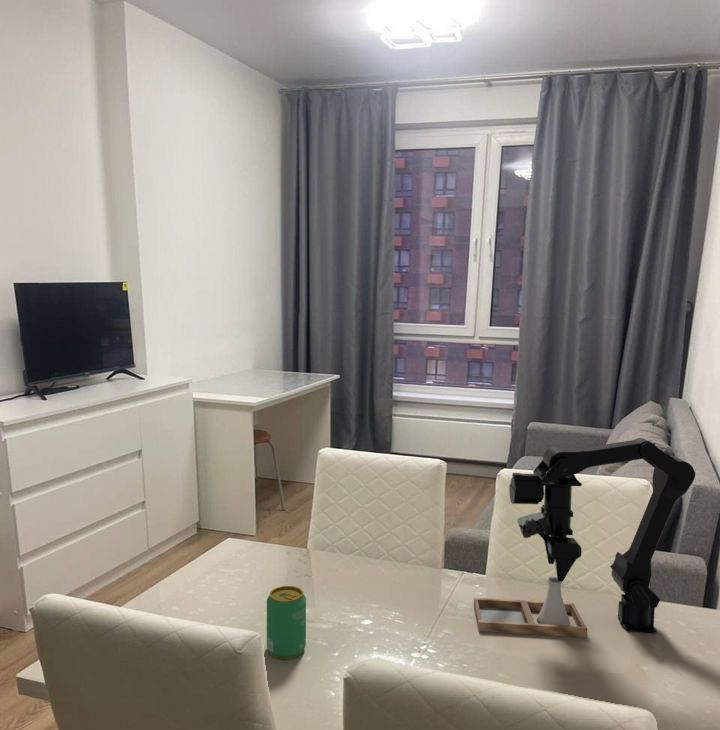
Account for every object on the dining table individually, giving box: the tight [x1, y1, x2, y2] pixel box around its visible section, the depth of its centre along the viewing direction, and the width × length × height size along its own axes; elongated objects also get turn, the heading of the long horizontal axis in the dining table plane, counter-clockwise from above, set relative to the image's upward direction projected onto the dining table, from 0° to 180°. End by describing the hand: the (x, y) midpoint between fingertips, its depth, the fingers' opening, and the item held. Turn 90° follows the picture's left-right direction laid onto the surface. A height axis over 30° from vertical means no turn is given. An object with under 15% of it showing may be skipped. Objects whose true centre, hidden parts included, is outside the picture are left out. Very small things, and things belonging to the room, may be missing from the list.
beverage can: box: [266, 585, 307, 660], centre depth 122 cm, size 8×8×12 cm
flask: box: [536, 576, 571, 626], centre depth 135 cm, size 7×7×10 cm
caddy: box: [473, 597, 588, 638], centre depth 136 cm, size 23×12×2 cm, turn 84°
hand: (555, 572), depth 134 cm, fingers open, 9 cm apart
